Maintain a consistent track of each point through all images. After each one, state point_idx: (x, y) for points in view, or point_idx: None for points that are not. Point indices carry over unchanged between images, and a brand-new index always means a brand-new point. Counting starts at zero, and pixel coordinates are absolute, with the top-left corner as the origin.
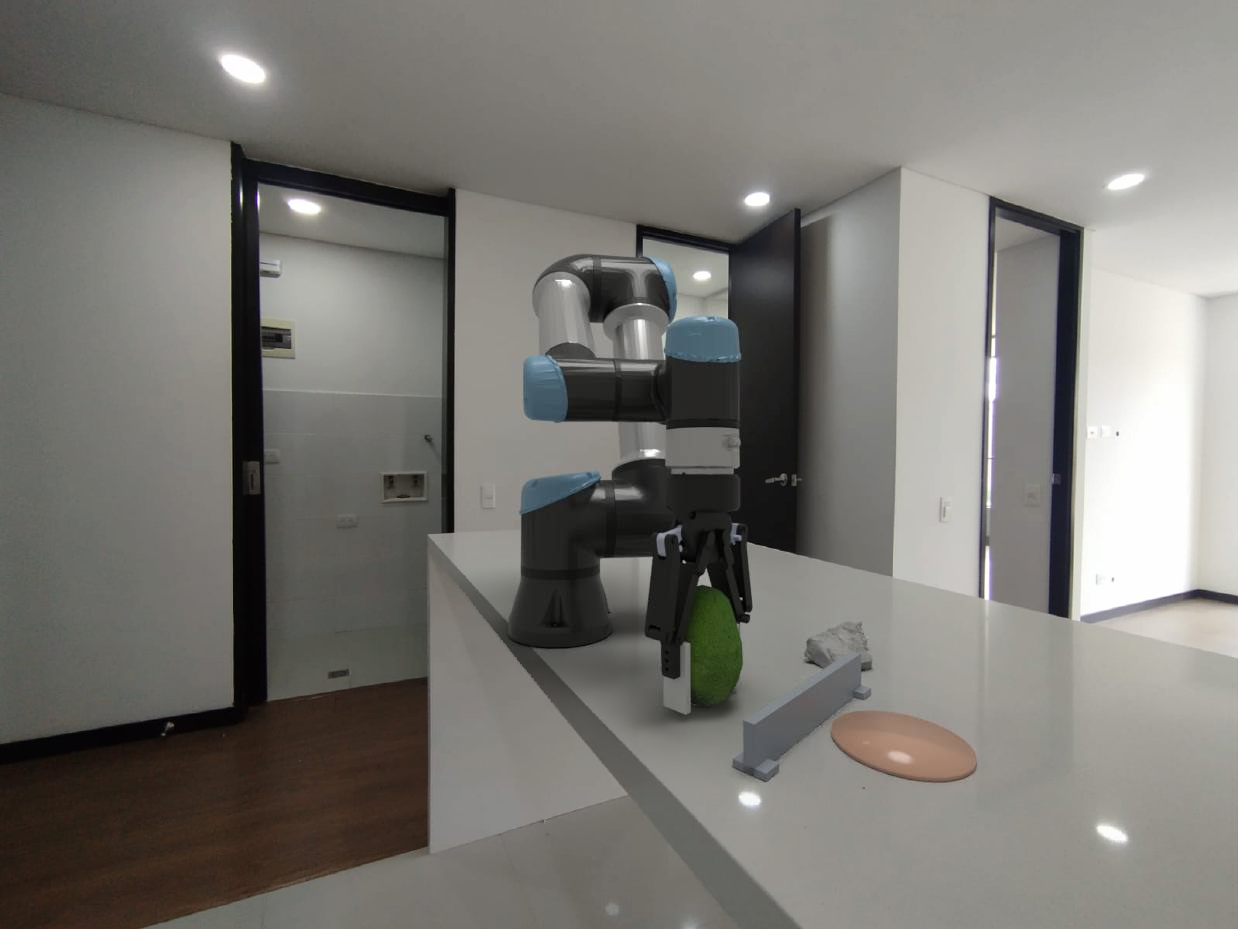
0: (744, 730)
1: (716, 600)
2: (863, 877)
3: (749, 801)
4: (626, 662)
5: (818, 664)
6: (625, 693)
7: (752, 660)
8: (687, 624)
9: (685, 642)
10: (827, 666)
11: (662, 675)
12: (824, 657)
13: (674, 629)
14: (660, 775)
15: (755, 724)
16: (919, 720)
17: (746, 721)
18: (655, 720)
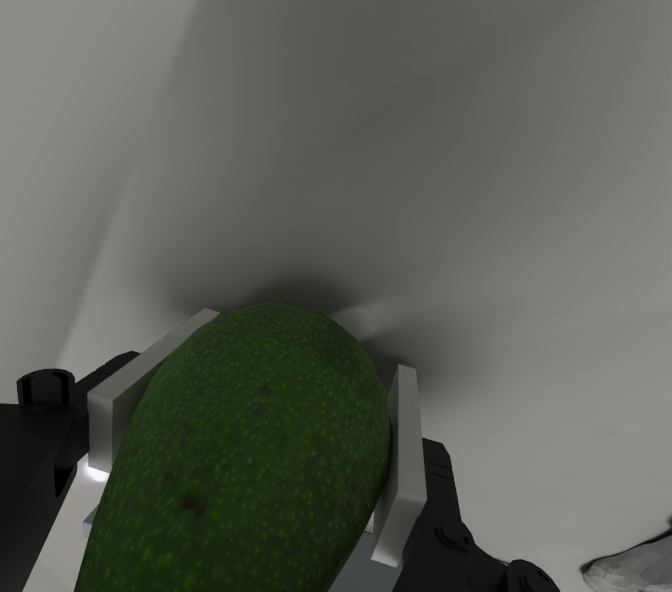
0: (95, 509)
1: None
2: (71, 556)
3: (92, 471)
4: (469, 27)
5: (657, 542)
6: (250, 171)
7: (650, 396)
8: (51, 522)
9: (108, 460)
10: (632, 563)
11: (131, 351)
12: (659, 577)
13: (128, 426)
14: (58, 368)
15: (87, 536)
16: None
17: (83, 526)
18: (182, 297)
